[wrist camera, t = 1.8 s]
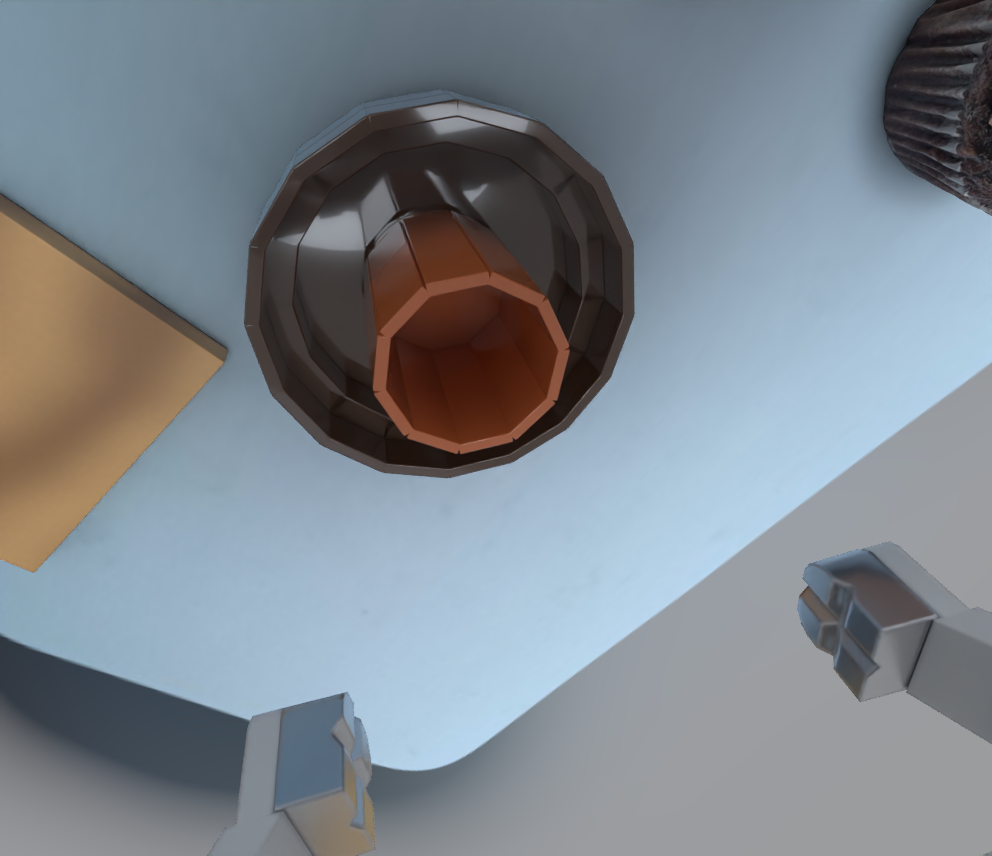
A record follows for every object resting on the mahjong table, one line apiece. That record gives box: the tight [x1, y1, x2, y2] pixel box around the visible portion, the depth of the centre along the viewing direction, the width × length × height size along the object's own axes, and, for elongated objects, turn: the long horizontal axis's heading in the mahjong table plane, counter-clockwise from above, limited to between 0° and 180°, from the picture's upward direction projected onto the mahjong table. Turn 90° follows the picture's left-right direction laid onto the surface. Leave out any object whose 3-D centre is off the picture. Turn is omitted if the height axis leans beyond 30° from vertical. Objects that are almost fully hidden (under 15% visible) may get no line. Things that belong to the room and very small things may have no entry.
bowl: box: [244, 89, 634, 478], centre depth 25 cm, size 14×14×4 cm
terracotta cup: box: [363, 210, 570, 454], centre depth 23 cm, size 6×6×8 cm
